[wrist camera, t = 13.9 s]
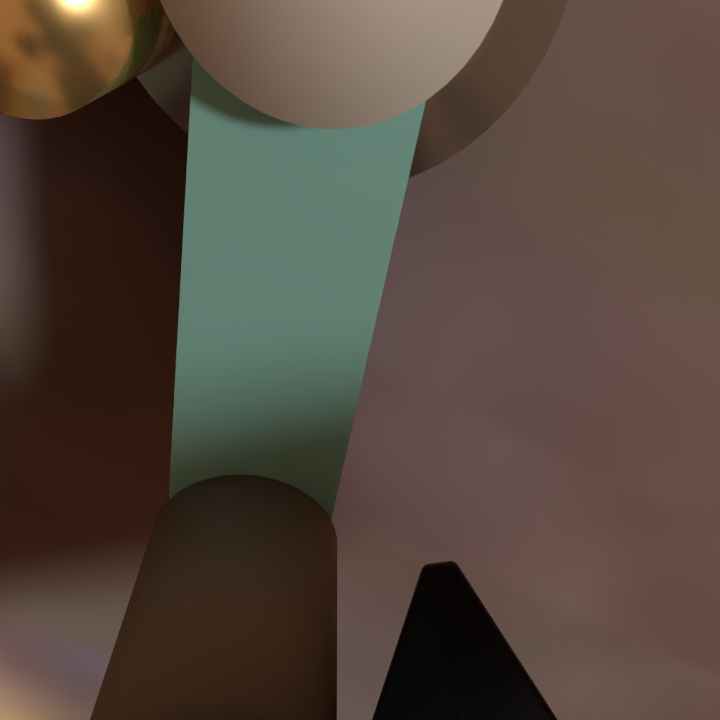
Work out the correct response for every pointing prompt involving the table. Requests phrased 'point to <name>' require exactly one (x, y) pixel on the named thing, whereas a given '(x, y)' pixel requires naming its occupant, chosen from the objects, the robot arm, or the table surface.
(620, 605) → the table surface
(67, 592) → the table surface
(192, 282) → the crank
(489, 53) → the crank base
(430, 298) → the table surface
